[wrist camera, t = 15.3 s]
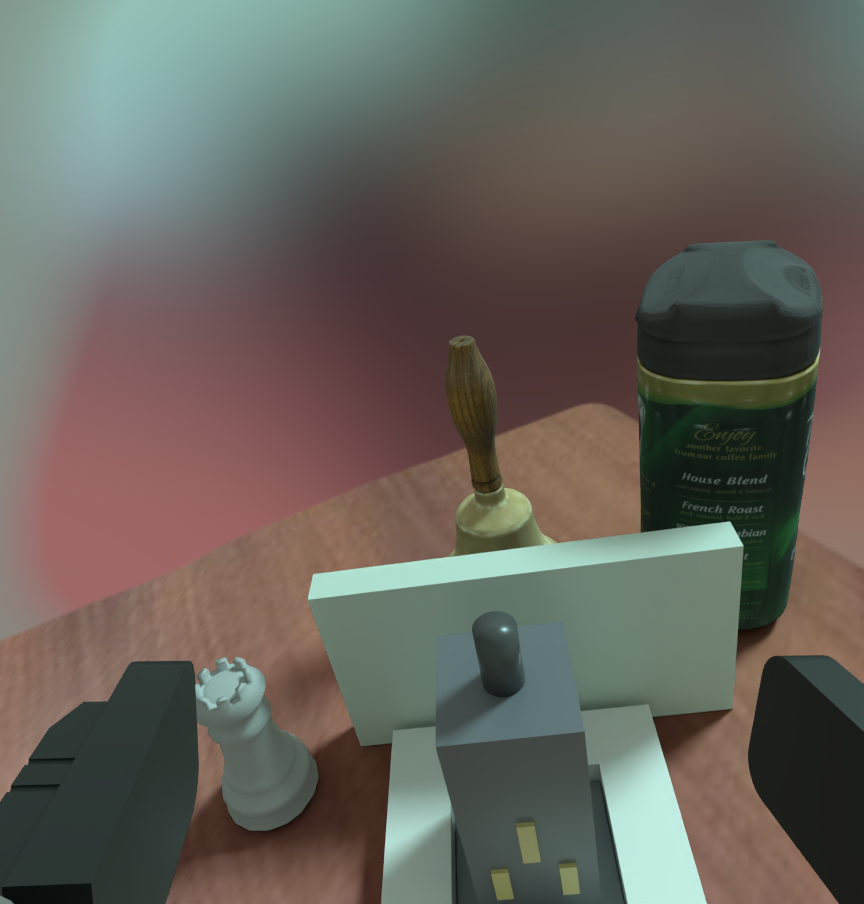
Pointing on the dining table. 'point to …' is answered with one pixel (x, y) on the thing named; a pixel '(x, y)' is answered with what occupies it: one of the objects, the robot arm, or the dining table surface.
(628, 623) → the socket
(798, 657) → the robot arm
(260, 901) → the dining table surface
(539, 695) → the plug
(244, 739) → the rook chess piece
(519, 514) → the hand bell
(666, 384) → the coffee jar
